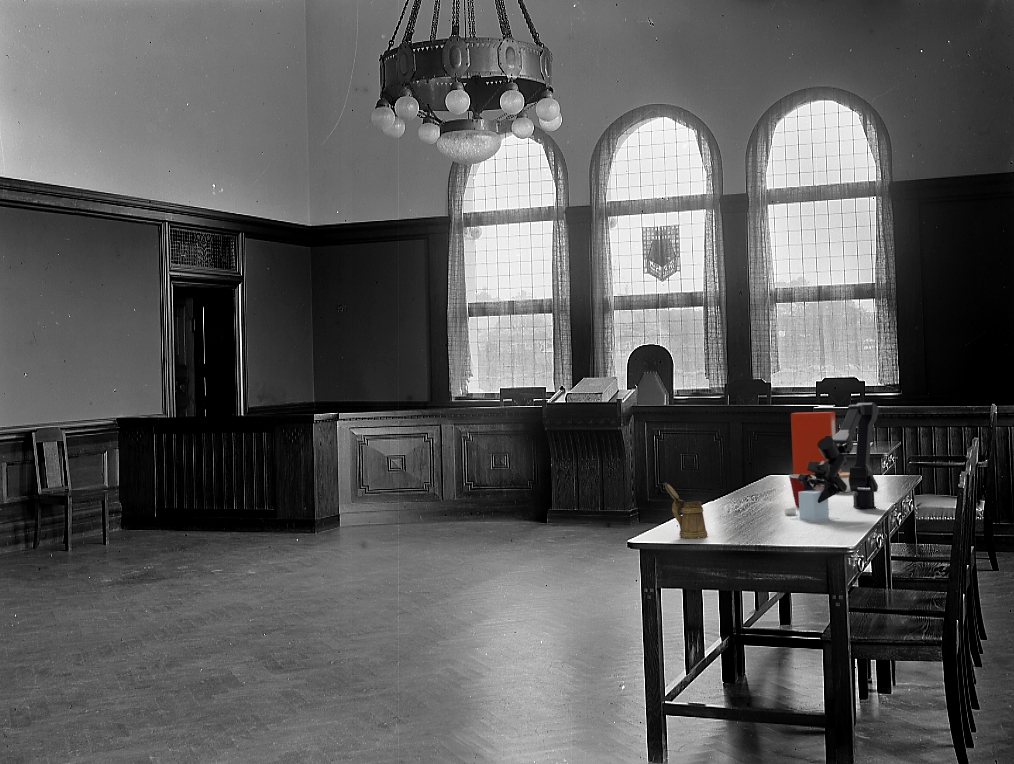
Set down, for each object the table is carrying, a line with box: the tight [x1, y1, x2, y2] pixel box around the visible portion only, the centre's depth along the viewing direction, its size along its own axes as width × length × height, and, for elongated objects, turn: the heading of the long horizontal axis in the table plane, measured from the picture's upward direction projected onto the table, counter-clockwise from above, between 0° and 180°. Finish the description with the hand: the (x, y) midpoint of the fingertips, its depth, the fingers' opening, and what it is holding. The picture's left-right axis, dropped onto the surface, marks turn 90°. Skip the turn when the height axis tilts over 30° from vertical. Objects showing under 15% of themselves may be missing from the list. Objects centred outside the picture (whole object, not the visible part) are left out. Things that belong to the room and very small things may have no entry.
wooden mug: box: [664, 482, 708, 539], centre depth 361 cm, size 9×14×18 cm, turn 69°
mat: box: [791, 516, 840, 523], centre depth 383 cm, size 12×12×1 cm
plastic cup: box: [788, 474, 816, 508], centre depth 417 cm, size 11×11×12 cm
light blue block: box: [798, 489, 830, 521], centre depth 383 cm, size 7×7×10 cm
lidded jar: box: [838, 469, 851, 494], centre depth 453 cm, size 11×11×9 cm
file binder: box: [790, 411, 837, 487], centre depth 480 cm, size 8×17×32 cm, turn 57°
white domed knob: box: [784, 506, 797, 516], centre depth 395 cm, size 4×4×3 cm
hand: (810, 501), depth 382 cm, fingers closed on light blue block, 7 cm apart
